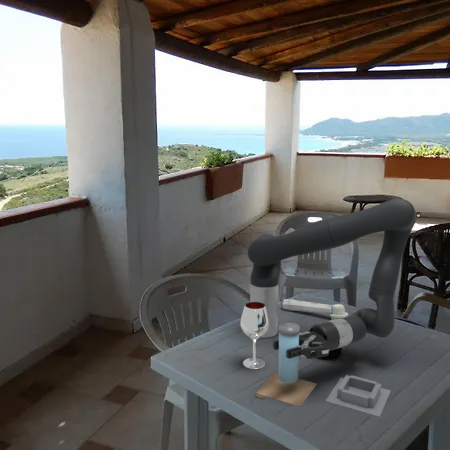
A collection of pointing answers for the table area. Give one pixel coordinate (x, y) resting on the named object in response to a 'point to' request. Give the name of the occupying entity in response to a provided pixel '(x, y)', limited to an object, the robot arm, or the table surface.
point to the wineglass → (254, 329)
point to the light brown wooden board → (286, 390)
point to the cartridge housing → (359, 395)
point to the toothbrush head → (315, 308)
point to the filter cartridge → (286, 341)
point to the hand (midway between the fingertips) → (280, 350)
